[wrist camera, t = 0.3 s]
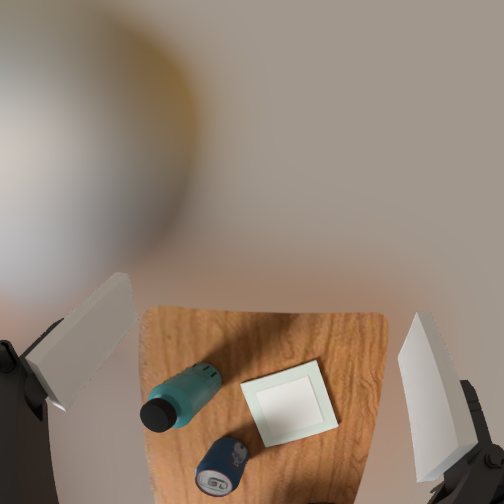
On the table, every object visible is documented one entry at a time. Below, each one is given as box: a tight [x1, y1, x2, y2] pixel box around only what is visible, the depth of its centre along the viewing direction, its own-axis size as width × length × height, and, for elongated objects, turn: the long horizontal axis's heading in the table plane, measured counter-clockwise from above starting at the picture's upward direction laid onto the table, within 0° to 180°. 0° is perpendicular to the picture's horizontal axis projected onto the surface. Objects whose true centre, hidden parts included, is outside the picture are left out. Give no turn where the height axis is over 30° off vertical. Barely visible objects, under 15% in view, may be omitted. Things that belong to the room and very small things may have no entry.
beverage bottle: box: [140, 362, 222, 433], centre depth 37 cm, size 6×7×20 cm
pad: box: [240, 360, 338, 447], centre depth 43 cm, size 13×13×1 cm
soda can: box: [195, 438, 249, 497], centre depth 38 cm, size 7×7×12 cm
